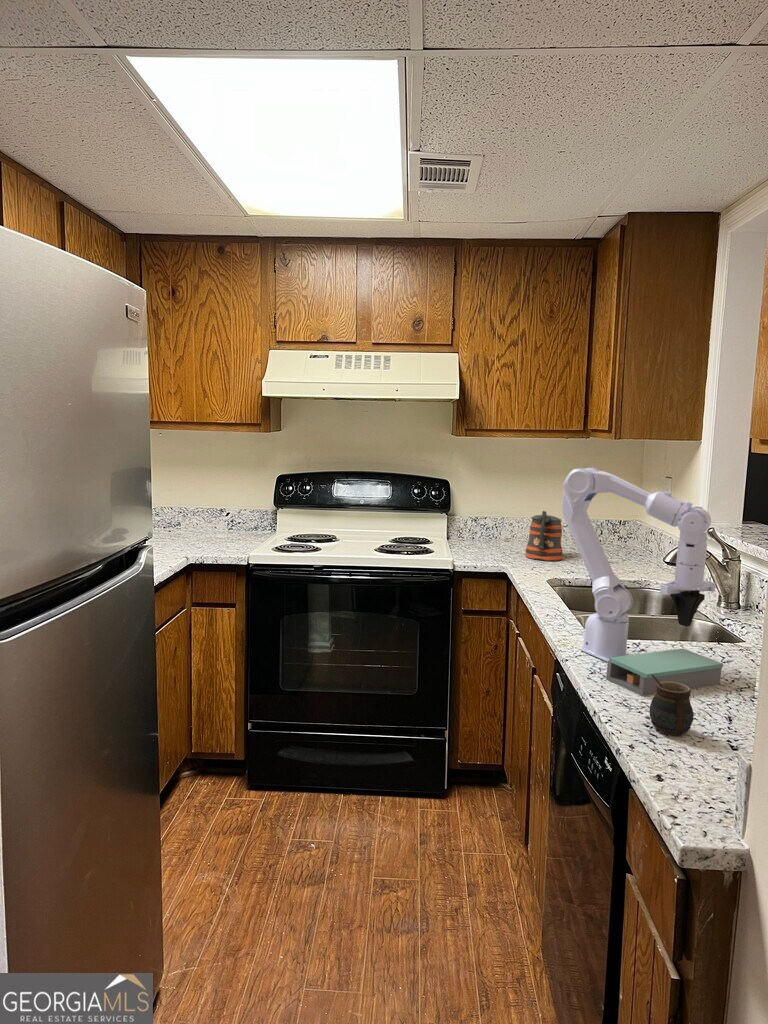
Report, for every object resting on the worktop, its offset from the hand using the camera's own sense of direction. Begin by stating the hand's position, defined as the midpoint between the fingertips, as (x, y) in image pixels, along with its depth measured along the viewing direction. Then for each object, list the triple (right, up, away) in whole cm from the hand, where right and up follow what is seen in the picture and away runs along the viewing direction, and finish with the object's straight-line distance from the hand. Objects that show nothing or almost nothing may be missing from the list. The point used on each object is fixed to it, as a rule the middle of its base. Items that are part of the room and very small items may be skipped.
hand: (684, 625), depth 160 cm
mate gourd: (-16, -14, -31) cm, 38 cm away
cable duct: (-7, -11, -6) cm, 14 cm away
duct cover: (-7, -7, -7) cm, 12 cm away
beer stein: (-2, +6, +132) cm, 132 cm away
